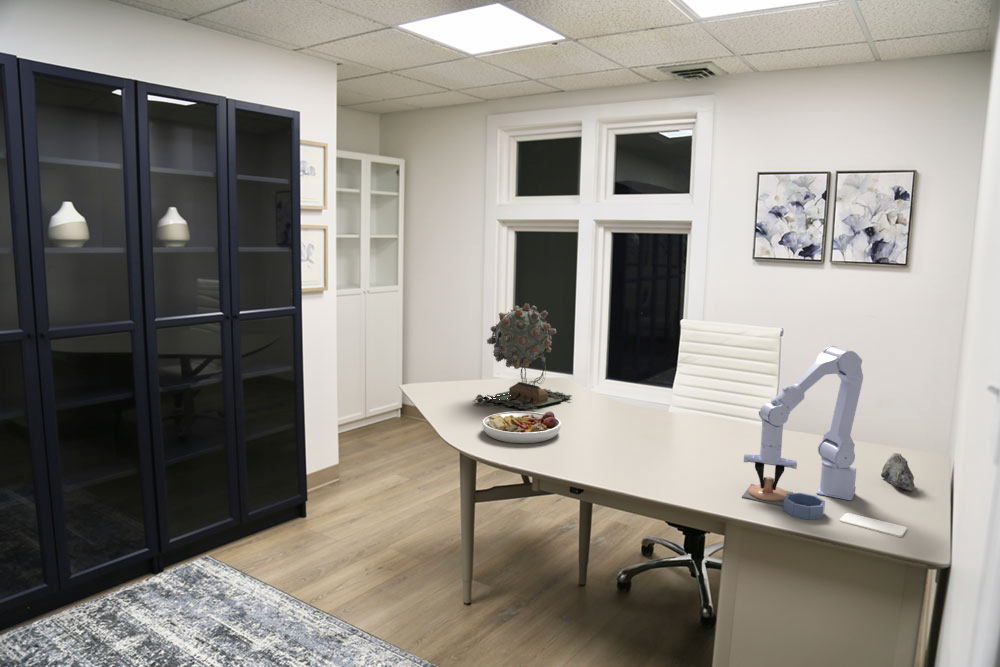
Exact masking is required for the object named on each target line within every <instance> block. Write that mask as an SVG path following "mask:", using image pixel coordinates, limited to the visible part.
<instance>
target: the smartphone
mask: <svg viewBox="0 0 1000 667" xmlns="http://www.w3.org/2000/svg"><path fill="white" fill-rule="evenodd" d="M839 522H840V523H845V524H848V525H852V526H855V527H858V528H863V529H868V530H871V531H874V532H878V533H882V534H886V535H890V536H893V537H896V538H903V536H904V535H905V534H906V532H907V530H908V528H907V526H904V525H899V524H897V523H896V524H895V523H891V522H888V521H884V520H879V519H875V518H872V517H871V518H870V517H866V516H862V515H859V514H856V513H855V514H854V513H851V512H845V513H844V514H843V515H842V516H841V517H840V518H839Z"/></svg>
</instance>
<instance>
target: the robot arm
mask: <svg viewBox="0 0 1000 667" xmlns="http://www.w3.org/2000/svg"><path fill="white" fill-rule="evenodd" d="M862 363H863V359H862V358H861V357H860V356H859V355H858V353H857V352H855V351H853V350H848V349H844V348H841V347H838V346H835V345H830V346H827V347H825V348H824V350H822V352H820V353H819V354H818V355H817V357H816V360H815V361H814V363H813V364H811V366H810V367H809V368H808V369H807V370H806V372H805V373H804V374H802V376H801V377H800V378H799V379H798V380H797V381H796V382H795V383H793V384H788V385H784V386H783V387H782V388H781V389H782V390H781V391H780V392H779V393H778V395H776V396H775V398H774V397H773V398H772V399H771V400H770V402H768V403H767V402H766V403H764V404H763V405H762V406H761V408H760V410H759V411H758V416H759V418H760V419H761V435H760V452H759V454H743V463H746V464H747V463H751V464H752V463H753V464H754V468H755V472H757V473H756V474H757V475H758V478H759V483H760V484H759V485H760V486H761V488H762V489H763V482H764V473H765V465H769V466H775V467H774V468H775V469H774V478H773V479H774V485H773V490H776V487H778V486H777V485H778V483H779V481H780V478H781V477H782V475H783V474H784V472H785V468H791V469H794V470H797V467H798V461H797V460H793V459H790V458H789V459H788V458H785V457H782V445H783V431H784V425H785V424H786V423H787V422H788V420H789V415H790V414H791V412H792V411H793V410H794V409H795V408H796V407H797V406H799V404H801V402H802V401H804V400H805V392H807V391H808V390H809V389H810V388H811V387H813V386H814V385H816V383H818V382H819V381H820V380H821V379H822V378H823V377H825V376H826V375H835V374H836V375H837V376H838V378H839V379H840V385H839V390H838V393H837V397H836V403H835V407H834V411H833V415H832V420H831V425H830V429H829V431H827V432H825V433H824V434H823V437H822V440H821V441H820V443H819V444H818V446H817V453H818V454H819V456H820V457H821V460H820V461H821V468H820V482H819V487H818V489H817V490H816V494H817V495H821V496H825V497H826V496H827V497H830V498H837V499H842V500H846V501H847V500H848V501H852V500H853V498H854V496H855V493H856V478H857V477H856V476H857V468H855V467H852V465H853V464H854V462H855V459H856V454H855V446H856V445H855V444H856V443H854V440H853V438H852V436H851V433H852V429H853V425H854V420H855V415H856V412H857V407H858V402H859V398H860V393H861V390H862V387H863V386H862V385H863V381H864V374H863V369H862Z"/></svg>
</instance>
